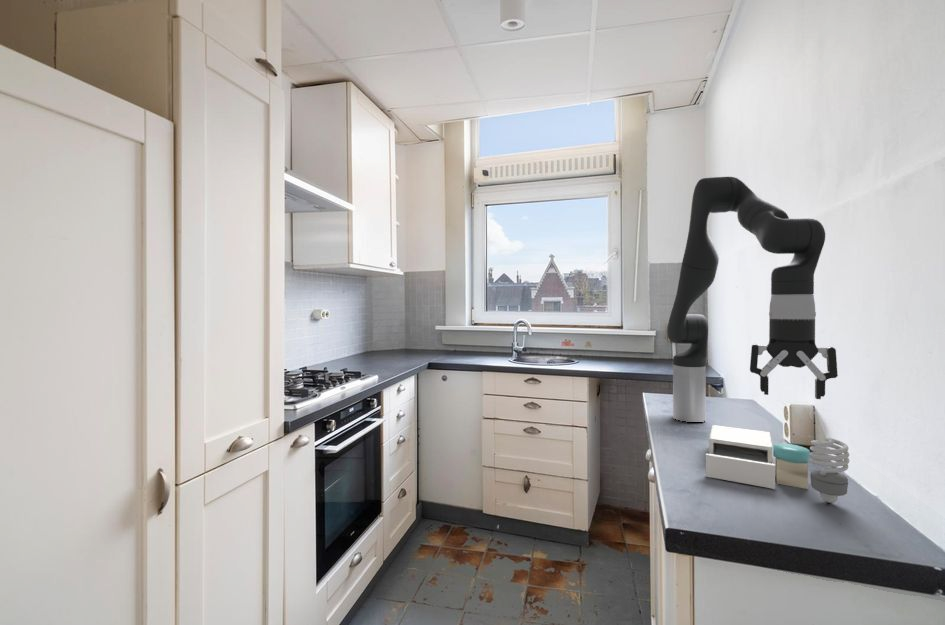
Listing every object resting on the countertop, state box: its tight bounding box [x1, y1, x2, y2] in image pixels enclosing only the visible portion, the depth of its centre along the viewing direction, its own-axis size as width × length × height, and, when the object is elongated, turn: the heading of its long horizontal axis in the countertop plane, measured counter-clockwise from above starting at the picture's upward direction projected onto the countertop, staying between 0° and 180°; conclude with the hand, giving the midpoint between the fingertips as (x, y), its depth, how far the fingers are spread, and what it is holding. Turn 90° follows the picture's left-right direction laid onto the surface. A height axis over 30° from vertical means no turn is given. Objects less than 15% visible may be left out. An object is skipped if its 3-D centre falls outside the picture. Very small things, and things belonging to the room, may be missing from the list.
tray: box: [705, 449, 776, 490], centre depth 94 cm, size 13×12×5 cm
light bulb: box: [809, 436, 850, 504], centre depth 79 cm, size 6×6×12 cm
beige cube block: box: [774, 457, 809, 490], centre depth 89 cm, size 5×5×5 cm
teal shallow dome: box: [772, 442, 811, 463], centre depth 89 cm, size 6×6×2 cm
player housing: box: [708, 424, 773, 464], centre depth 102 cm, size 13×12×6 cm
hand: (791, 396), depth 88 cm, fingers open, 8 cm apart
